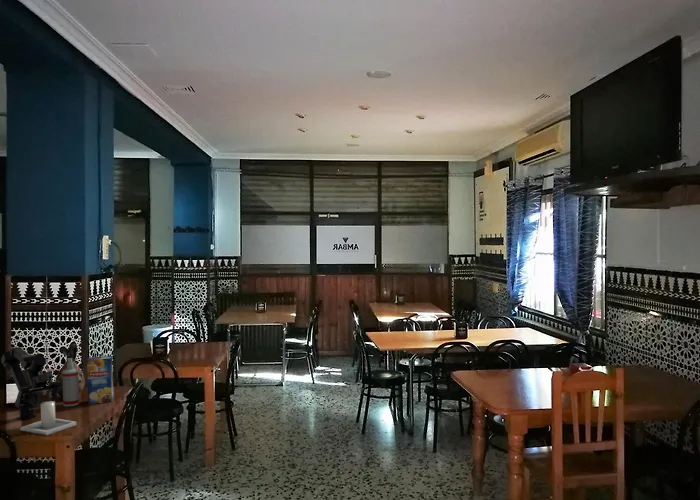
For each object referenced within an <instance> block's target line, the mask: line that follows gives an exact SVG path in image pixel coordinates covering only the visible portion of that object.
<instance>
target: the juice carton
mask: <svg viewBox="0 0 700 500" xmlns="http://www.w3.org/2000/svg"><path fill="white" fill-rule="evenodd" d="M86 361H87V362H86V363H87V365H86V367H87V369H86V371H87V372H86V373H87V397H88V398H87V400H88V403H87V404H89V405H91V404H104V403H103V402H105V403H112V402H113V400H114V375H113V373H114V372H113V371H114V370H113V355H103V356H89V357H88V358H87V359H86Z"/></svg>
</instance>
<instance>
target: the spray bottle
mask: <svg viewBox="0 0 700 500" xmlns="http://www.w3.org/2000/svg"><path fill="white" fill-rule="evenodd" d="M62 375H63V399H62V403H63V407H74V406H78V405H79V404H80V396H79V395H80V394H79V384H78V370H76V369H74V367H73V362H72V358H68V363H67V369H66V370H65V371H63V372H62Z"/></svg>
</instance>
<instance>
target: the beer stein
mask: <svg viewBox="0 0 700 500" xmlns="http://www.w3.org/2000/svg"><path fill="white" fill-rule="evenodd" d="M28 369H29V368H26V369H22V372H23V374H24V377H25V379H26V381H27V383H28V386H30V380H29V377H28V376H27V370H28ZM48 372H49V371H47V372H45V373H43V370H42V371H41V373H42V375H43V374H46V373H48ZM47 382H48V384H47V386H50V385H51V384H52V382H53V378H52V379H49V381H47ZM36 393H37V395H38V399H37V404H36V407H34V406H33V409H35V408H39V407H40V408H41V405H40V404H41V403H43V402H45V401H44V400H50V399H51V398H52V395H50V394H51V391H50V390H46V393H45V391H41V392H36Z"/></svg>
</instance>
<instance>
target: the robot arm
mask: <svg viewBox="0 0 700 500" xmlns="http://www.w3.org/2000/svg"><path fill="white" fill-rule="evenodd" d="M0 361H1V364H2V365H3V367H4V368H5V369H7V370H8V371H10V374H11V376H12V379H13V381H14V383H15V386H16V387H17V390H18V393H17V396H16V398H15V401H14V406H15V407H16V408H17V409H19V410H18V414H19V416H17V417H16V419H18V420H22V421H25V420H28V419H31V418H36V417H37V415H35V414H34V412H35V411H34V408H33V406H34V407H36V404H37V399H38V395H37V393H36V392H41V391H44V392H45V391H46V392H47V390H50V394H51V395H50V396H51V398H52V400H53V401H54V402H55V404H56V403H57V401H58V391H60V389H61V387H62V385H63V384H62V382H61V381H56V382H55V381H52V384H51V385H50V386H48V381H49V379H52V380H53V377H54V376H53V373H52V371H47V372H48V373H47V372H45V373H46V374H44V373H43V375H42V373H41V371H43V369H44V367H45V365H46V363H47V359H46V357H44V356H43V355H41V354H40V353H36V354H30V353H28V352H27V351H25V350H24V349H23V347H21V346H17V347H11V348H9V350H8V351H6V352H5V353H3V355H2V356H1V360H0ZM25 369H28V370H27V376H28V377H29V380H30V386H28V383H27V381H26V379H25V377H24V374H23V372H22V371H23V370H25ZM36 408H37V407H36Z"/></svg>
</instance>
